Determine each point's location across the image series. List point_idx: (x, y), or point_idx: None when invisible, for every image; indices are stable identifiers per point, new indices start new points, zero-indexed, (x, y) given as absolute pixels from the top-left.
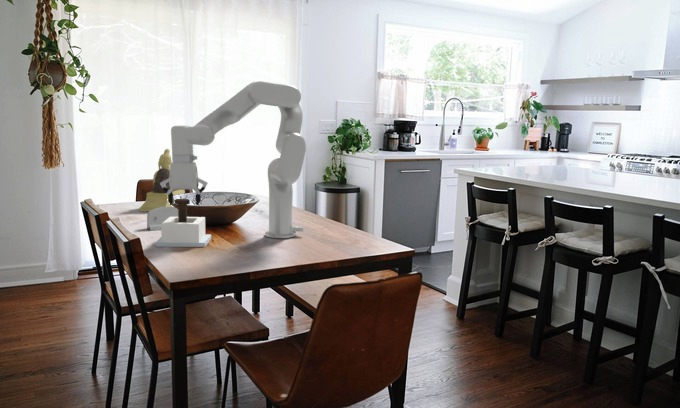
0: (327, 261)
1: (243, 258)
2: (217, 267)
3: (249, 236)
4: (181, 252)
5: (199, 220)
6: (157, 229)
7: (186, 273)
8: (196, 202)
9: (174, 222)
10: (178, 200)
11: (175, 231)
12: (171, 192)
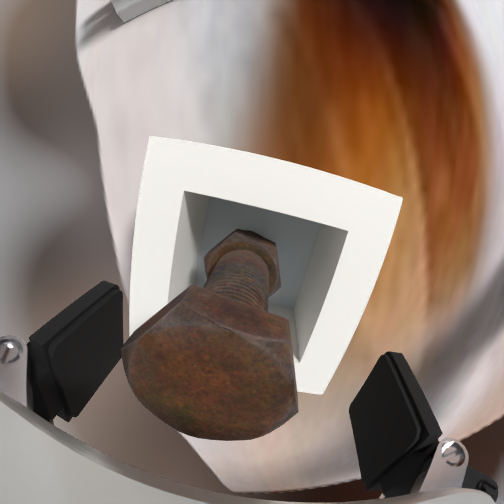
0: (482, 428)
1: None
2: (313, 468)
3: (497, 205)
4: None
5: (348, 309)
6: (148, 8)
7: (252, 479)
8: (355, 426)
9: (188, 207)
10: (174, 428)
11: None
12: (44, 407)
